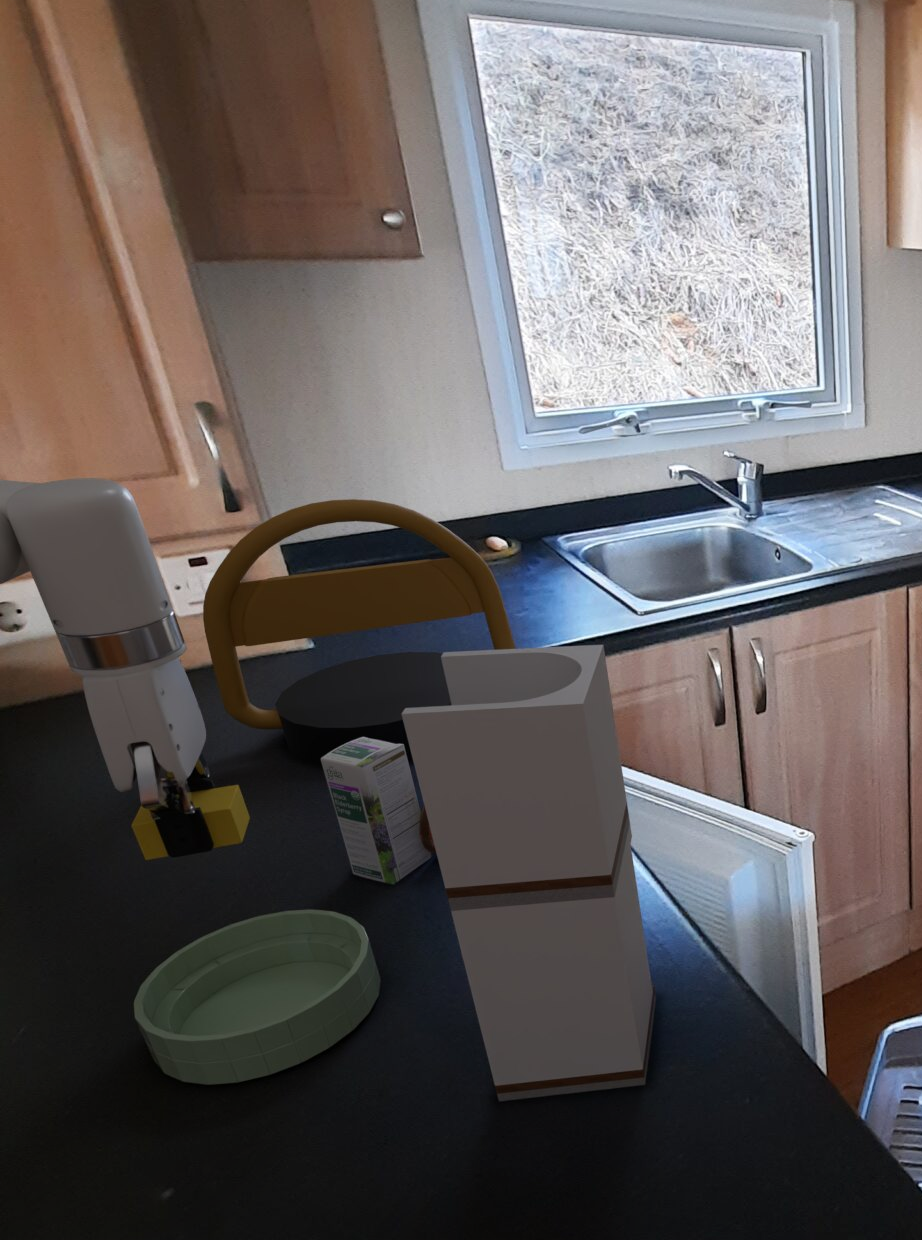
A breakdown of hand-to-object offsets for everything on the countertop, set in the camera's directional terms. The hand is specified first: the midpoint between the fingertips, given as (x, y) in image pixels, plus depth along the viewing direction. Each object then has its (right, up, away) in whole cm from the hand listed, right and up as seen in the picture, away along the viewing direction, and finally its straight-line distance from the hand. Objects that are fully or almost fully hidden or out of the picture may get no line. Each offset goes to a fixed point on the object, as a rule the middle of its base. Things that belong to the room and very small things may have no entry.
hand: (197, 835), depth 91 cm
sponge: (0, 0, 0) cm, 0 cm away
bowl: (+5, -16, +2) cm, 17 cm away
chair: (-12, +10, +53) cm, 55 cm away
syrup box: (+4, -6, +23) cm, 24 cm away
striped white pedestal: (+34, -19, -1) cm, 38 cm away
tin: (+11, -3, +29) cm, 32 cm away
